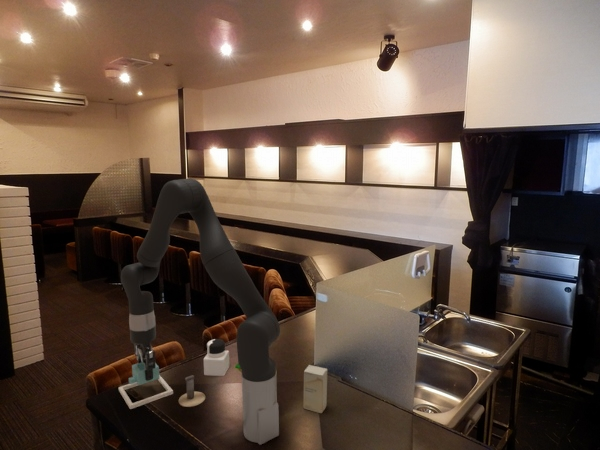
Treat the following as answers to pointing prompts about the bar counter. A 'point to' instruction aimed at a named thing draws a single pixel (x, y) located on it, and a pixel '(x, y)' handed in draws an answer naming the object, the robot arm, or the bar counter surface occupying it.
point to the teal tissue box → (142, 374)
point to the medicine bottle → (216, 358)
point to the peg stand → (191, 394)
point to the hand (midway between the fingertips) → (145, 374)
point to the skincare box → (315, 388)
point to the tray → (147, 400)
